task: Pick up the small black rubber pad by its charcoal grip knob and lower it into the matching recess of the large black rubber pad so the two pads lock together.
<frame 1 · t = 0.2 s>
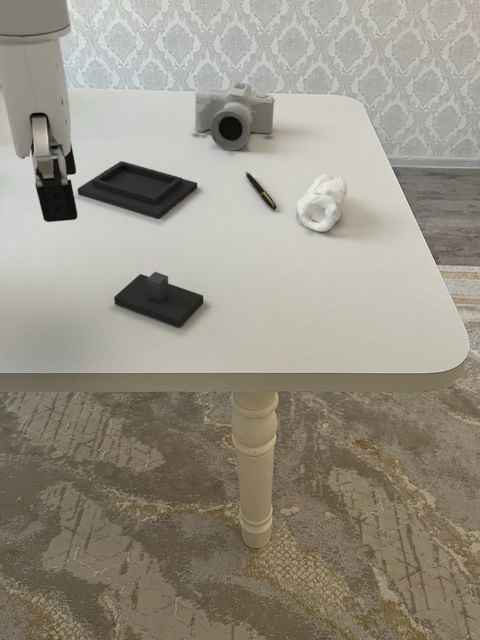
hand: (61, 195, 62), 18 cm above the table, tool pointing down, fingers open, 9 cm apart
base pad: (138, 191, 100), on the table
small pad: (159, 303, 78), on the table
fountain pen: (259, 193, 102), on the table
digital camera: (227, 136, 119), on the table
white hollow lump: (319, 216, 97), on the table
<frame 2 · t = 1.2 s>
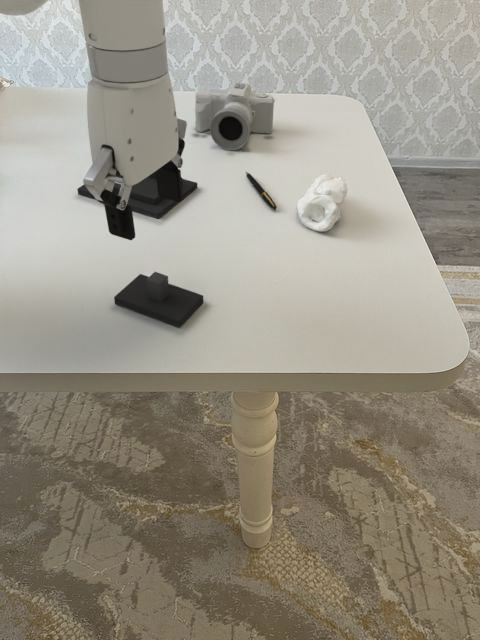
hand: (147, 216, 69), 13 cm above the table, tool pointing down, fingers open, 9 cm apart
nothing on the table moved.
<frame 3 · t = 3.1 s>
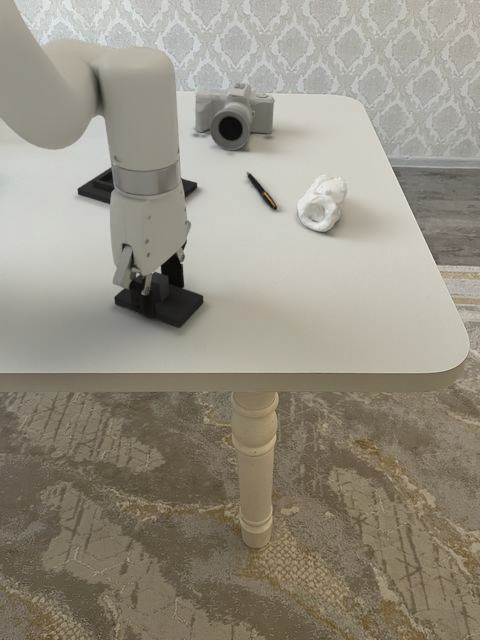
hand: (159, 298, 78), 1 cm above the table, tool pointing down, fingers closed on small pad, 6 cm apart
small pad: (159, 303, 78), on the table, touching gripper
everything else where it was.
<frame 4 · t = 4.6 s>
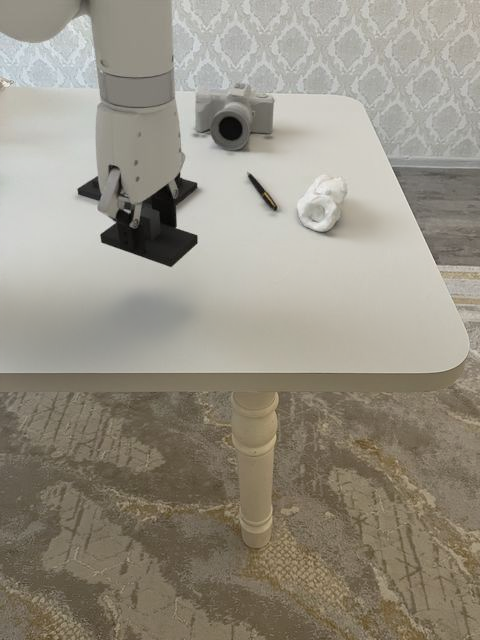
hand: (149, 237, 72), 10 cm above the table, tool pointing down, fingers closed on small pad, 6 cm apart
small pad: (149, 243, 72), point 9 cm above the table, touching gripper
everything else where it was.
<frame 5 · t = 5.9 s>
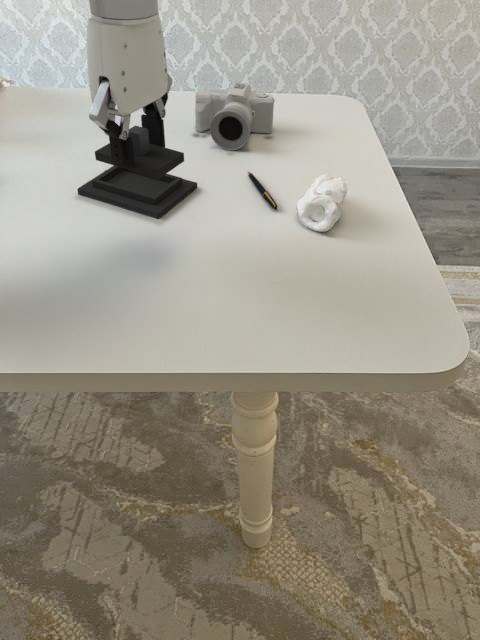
hand: (139, 154, 78), 15 cm above the table, tool pointing down, fingers closed on small pad, 6 cm apart
small pad: (140, 160, 79), point 14 cm above the table, touching gripper
everything else where it was.
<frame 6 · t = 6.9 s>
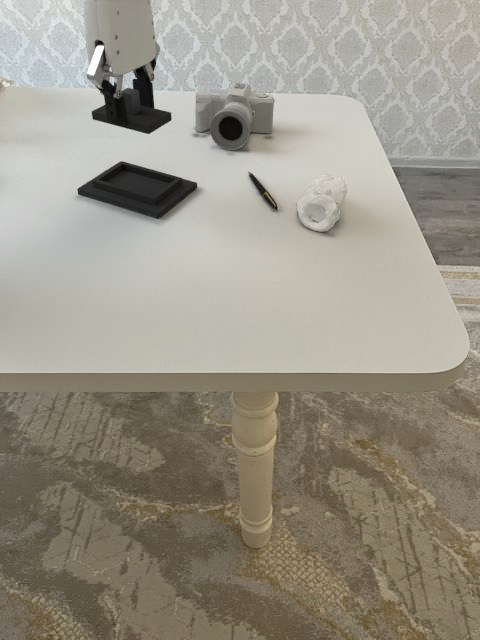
hand: (131, 114, 88), 15 cm above the table, tool pointing down, fingers closed on small pad, 6 cm apart
small pad: (132, 120, 88), point 14 cm above the table, touching gripper
everything else where it was.
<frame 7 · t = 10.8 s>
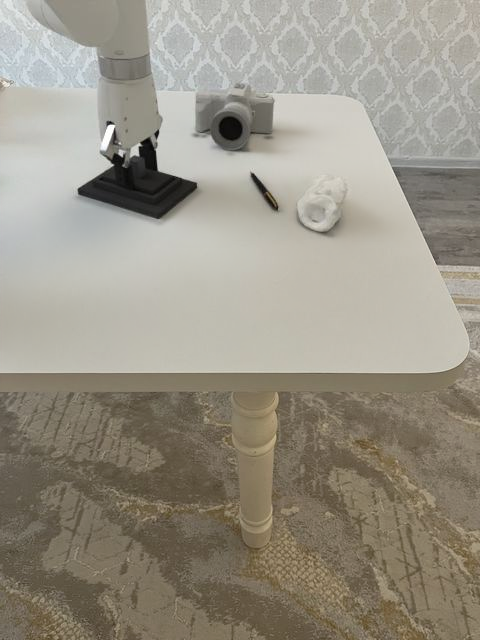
hand: (137, 177, 99), 2 cm above the table, tool pointing down, fingers closed on small pad, 6 cm apart
small pad: (138, 182, 99), point 2 cm above the table, touching gripper
everything else where it was.
when the fingers open (3 cm above the table, at t = 17.0 s): small pad drops 1 cm, resting on base pad.
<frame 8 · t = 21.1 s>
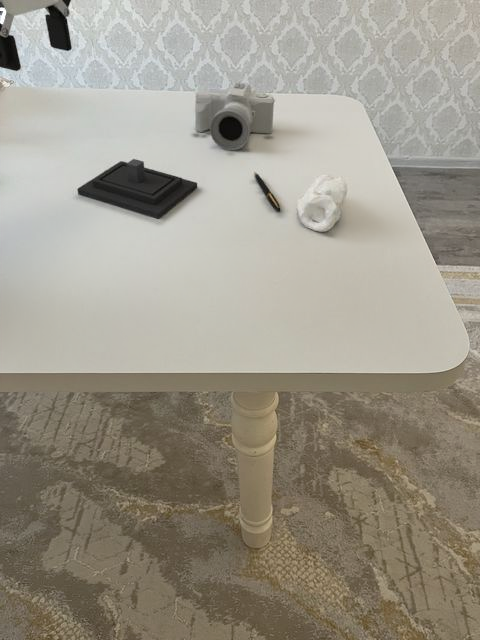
hand: (36, 58, 78), 23 cm above the table, tool pointing down, fingers open, 9 cm apart
small pad: (137, 185, 100), point 1 cm above the table, touching base pad
at the end: small pad 0.1 cm off-centre on the base pad, point 1.0 cm above the base pad's base; small pad tilted 0°; the gripper is holding nothing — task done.
